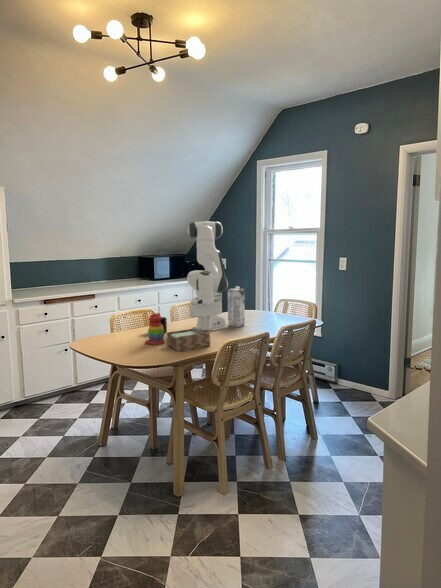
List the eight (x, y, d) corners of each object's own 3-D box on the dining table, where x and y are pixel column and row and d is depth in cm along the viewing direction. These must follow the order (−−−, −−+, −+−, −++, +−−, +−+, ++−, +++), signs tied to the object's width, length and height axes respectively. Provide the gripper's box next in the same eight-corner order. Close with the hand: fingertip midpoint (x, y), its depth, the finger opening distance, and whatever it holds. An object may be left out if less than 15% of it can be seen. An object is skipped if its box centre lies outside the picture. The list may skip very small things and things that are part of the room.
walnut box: (197, 341, 257) (197, 327, 256) (210, 346, 246) (209, 332, 245) (167, 346, 247) (166, 332, 246) (178, 352, 235) (178, 337, 234)
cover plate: (196, 332, 254) (196, 326, 254) (206, 335, 245) (206, 329, 245) (170, 336, 245) (170, 330, 245) (179, 340, 236) (179, 333, 236)
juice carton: (238, 327, 292) (238, 288, 288) (226, 325, 298) (225, 287, 294) (246, 325, 299) (246, 286, 295) (233, 323, 305) (233, 285, 301)
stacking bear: (157, 339, 262) (156, 311, 260) (168, 342, 256) (167, 312, 253) (143, 343, 254) (142, 313, 251) (155, 346, 248) (153, 315, 245)
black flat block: (164, 333, 277) (164, 318, 276) (150, 333, 279) (149, 318, 278) (166, 332, 282) (166, 317, 280) (152, 331, 284) (151, 316, 282)
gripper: (218, 297, 257) (218, 320, 259) (188, 300, 246) (188, 324, 248) (224, 298, 252) (224, 322, 253) (193, 301, 241) (193, 326, 242)
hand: (206, 323), depth 250 cm, fingers closed
